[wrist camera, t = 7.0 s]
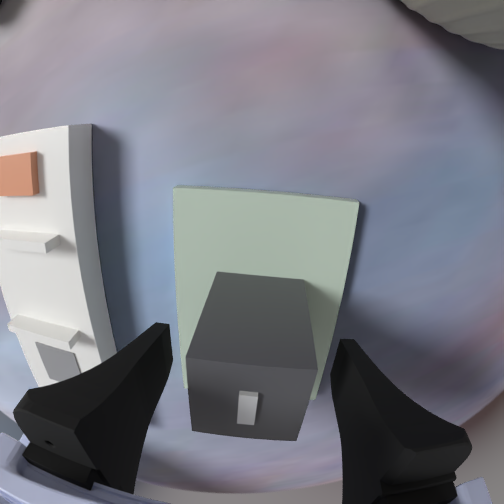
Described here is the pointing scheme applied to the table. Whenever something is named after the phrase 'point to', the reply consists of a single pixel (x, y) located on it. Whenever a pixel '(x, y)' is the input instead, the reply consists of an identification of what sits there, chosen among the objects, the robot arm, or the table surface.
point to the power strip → (52, 252)
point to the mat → (262, 251)
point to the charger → (252, 358)
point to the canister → (466, 18)
